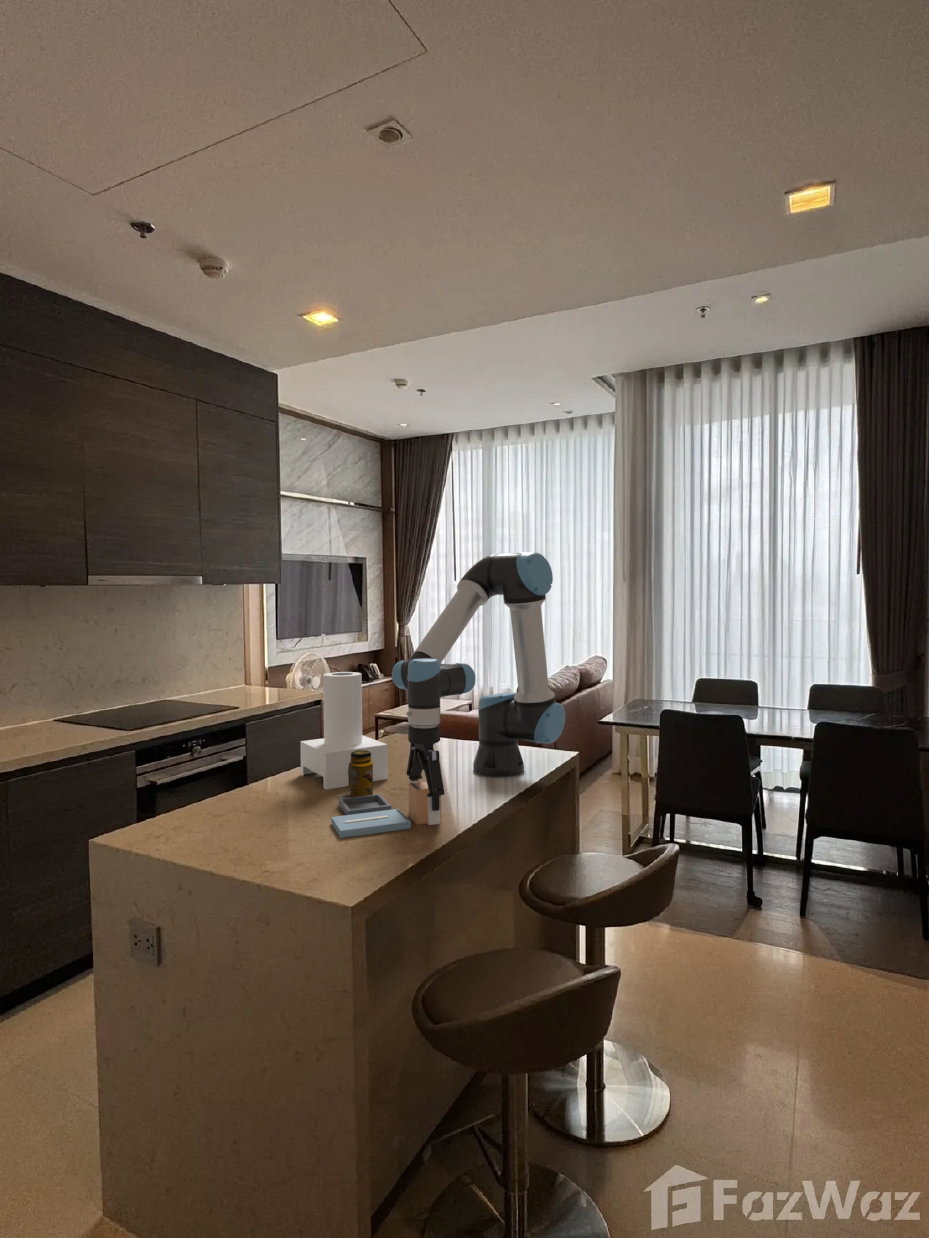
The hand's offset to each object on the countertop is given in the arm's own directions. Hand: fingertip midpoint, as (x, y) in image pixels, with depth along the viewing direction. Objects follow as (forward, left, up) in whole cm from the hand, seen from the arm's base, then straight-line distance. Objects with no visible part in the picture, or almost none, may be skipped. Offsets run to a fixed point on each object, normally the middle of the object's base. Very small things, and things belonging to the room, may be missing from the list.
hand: (424, 815), depth 162 cm
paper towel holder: (+9, -45, -1) cm, 46 cm away
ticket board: (+13, 0, -1) cm, 13 cm away
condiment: (+10, -23, -1) cm, 25 cm away
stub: (0, 0, -1) cm, 1 cm away
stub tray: (+11, -12, -1) cm, 17 cm away
